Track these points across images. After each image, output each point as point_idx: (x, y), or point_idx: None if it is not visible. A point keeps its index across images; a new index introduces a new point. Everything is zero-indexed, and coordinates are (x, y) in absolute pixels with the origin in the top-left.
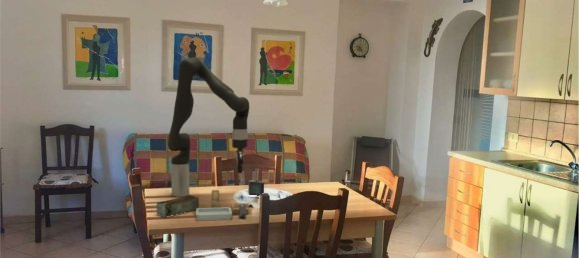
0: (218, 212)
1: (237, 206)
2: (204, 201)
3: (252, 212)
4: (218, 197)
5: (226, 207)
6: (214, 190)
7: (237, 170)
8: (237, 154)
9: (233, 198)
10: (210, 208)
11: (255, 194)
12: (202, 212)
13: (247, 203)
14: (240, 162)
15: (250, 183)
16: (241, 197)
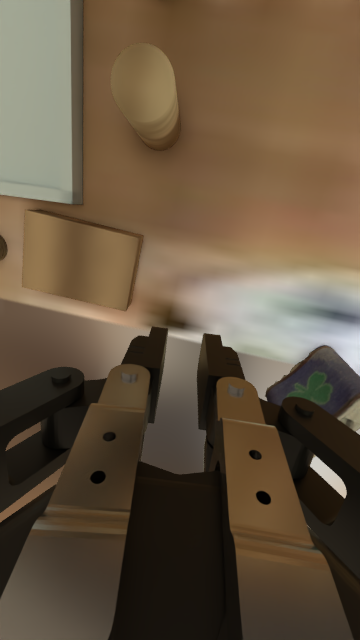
0: (41, 124)
1: (78, 244)
2: (336, 71)
3: (69, 307)
4: (133, 126)
5: (67, 178)
6: (155, 76)
7: (205, 338)
8: (30, 567)
9: (329, 268)
10: (57, 64)
11: (300, 380)
12: (47, 8)
13: (126, 306)
14: (214, 439)
15: (347, 393)
16: (331, 311)
